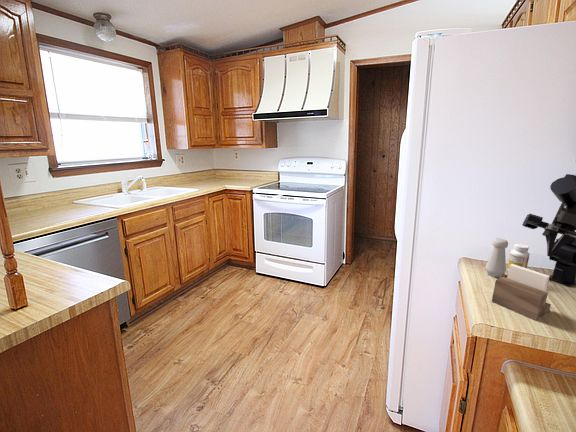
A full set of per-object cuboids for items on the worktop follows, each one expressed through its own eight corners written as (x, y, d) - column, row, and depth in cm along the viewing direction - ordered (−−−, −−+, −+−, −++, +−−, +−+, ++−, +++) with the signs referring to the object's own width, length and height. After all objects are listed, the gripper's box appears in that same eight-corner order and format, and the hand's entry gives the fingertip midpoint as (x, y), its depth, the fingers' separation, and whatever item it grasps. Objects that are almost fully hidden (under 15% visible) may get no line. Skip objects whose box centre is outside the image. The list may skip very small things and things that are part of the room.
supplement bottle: (517, 267, 113) (523, 242, 110) (529, 274, 108) (535, 248, 105) (503, 268, 113) (508, 242, 110) (514, 274, 108) (520, 248, 105)
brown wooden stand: (505, 293, 96) (510, 272, 94) (549, 310, 87) (555, 288, 85) (491, 301, 92) (495, 280, 90) (535, 320, 83) (541, 297, 81)
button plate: (508, 287, 93) (513, 263, 91) (544, 301, 86) (551, 275, 84) (504, 289, 92) (509, 265, 90) (540, 304, 85) (547, 277, 83)
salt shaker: (507, 279, 104) (515, 243, 101) (488, 278, 105) (495, 242, 102) (499, 272, 110) (506, 237, 106) (481, 270, 111) (488, 236, 107)
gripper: (539, 190, 93) (516, 236, 92) (624, 213, 82) (599, 265, 81) (532, 203, 102) (511, 245, 101) (608, 225, 91) (585, 272, 90)
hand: (549, 256), depth 93 cm, fingers closed
